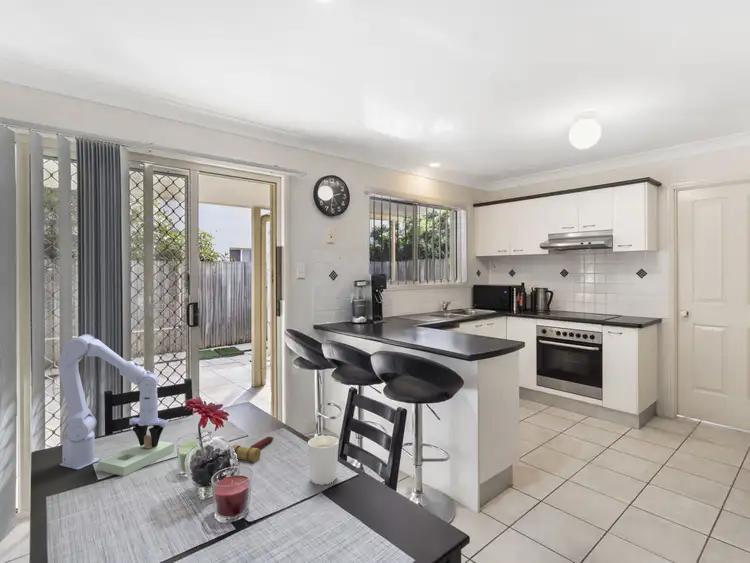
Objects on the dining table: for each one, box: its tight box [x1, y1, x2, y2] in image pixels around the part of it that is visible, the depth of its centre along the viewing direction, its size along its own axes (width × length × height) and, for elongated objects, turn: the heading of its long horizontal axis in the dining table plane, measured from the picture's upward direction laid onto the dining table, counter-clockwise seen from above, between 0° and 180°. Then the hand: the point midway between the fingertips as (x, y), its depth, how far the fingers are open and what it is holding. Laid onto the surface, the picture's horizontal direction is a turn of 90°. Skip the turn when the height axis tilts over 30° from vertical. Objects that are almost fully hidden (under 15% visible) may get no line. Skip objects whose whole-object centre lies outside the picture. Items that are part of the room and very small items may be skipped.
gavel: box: [231, 436, 274, 463], centre depth 154 cm, size 21×5×10 cm
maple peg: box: [144, 433, 154, 450], centre depth 149 cm, size 3×3×7 cm
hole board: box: [97, 440, 175, 477], centre depth 145 cm, size 12×20×3 cm, turn 160°
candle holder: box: [307, 435, 340, 486], centre depth 132 cm, size 10×10×12 cm
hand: (148, 445), depth 149 cm, fingers open, 4 cm apart
